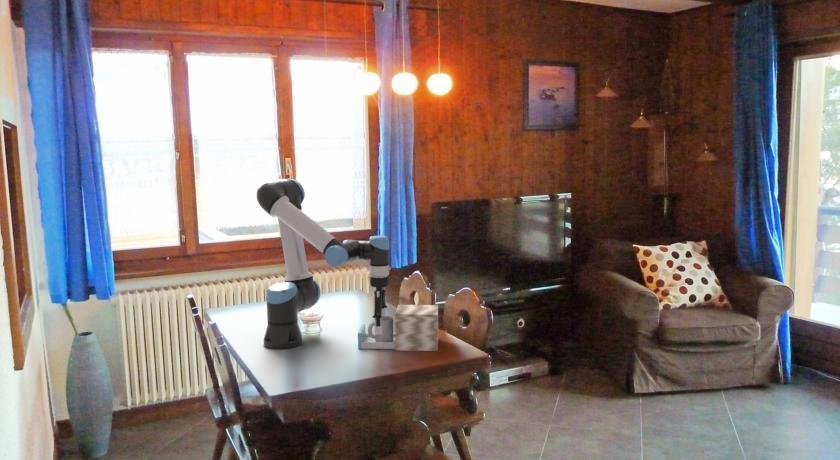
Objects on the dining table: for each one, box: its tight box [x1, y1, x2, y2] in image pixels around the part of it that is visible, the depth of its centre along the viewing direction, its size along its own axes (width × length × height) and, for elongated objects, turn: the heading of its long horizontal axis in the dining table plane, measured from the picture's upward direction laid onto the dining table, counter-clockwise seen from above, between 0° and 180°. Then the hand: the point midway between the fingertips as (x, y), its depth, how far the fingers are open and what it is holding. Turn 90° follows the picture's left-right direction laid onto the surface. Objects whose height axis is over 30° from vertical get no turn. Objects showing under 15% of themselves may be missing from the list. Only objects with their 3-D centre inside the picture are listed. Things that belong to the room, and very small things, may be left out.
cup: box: [367, 315, 394, 342], centre depth 254 cm, size 7×10×9 cm
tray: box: [357, 323, 396, 350], centre depth 254 cm, size 19×13×6 cm
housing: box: [394, 304, 439, 352], centre depth 253 cm, size 16×15×14 cm
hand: (380, 329), depth 254 cm, fingers open, 13 cm apart
